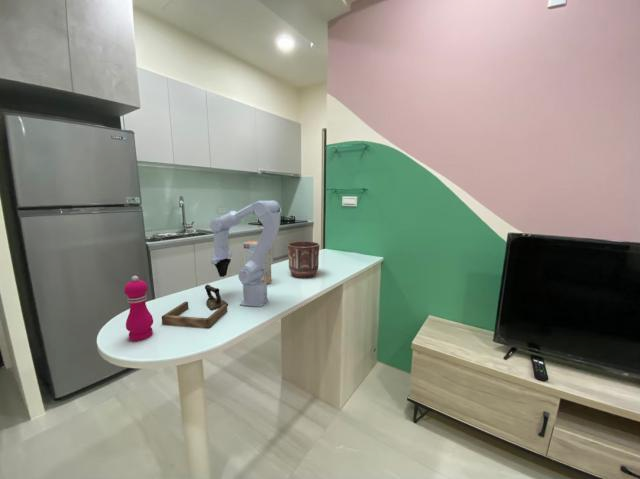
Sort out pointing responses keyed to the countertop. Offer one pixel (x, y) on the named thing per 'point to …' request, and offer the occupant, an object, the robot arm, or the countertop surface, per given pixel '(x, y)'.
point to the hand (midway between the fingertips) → (222, 276)
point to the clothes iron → (214, 302)
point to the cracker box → (266, 278)
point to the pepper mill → (138, 310)
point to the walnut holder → (177, 320)
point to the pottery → (303, 258)
